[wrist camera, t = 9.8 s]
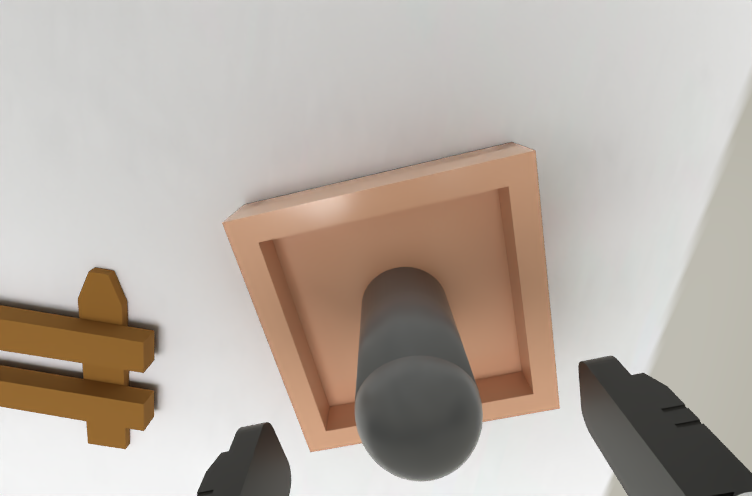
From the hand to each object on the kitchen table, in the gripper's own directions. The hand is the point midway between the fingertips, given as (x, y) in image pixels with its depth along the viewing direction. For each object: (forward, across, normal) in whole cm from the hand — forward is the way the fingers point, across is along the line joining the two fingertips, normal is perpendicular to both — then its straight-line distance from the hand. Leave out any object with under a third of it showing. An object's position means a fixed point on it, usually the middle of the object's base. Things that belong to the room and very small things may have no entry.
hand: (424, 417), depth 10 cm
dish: (+8, 0, +1) cm, 8 cm away
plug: (+7, 0, +1) cm, 7 cm away
